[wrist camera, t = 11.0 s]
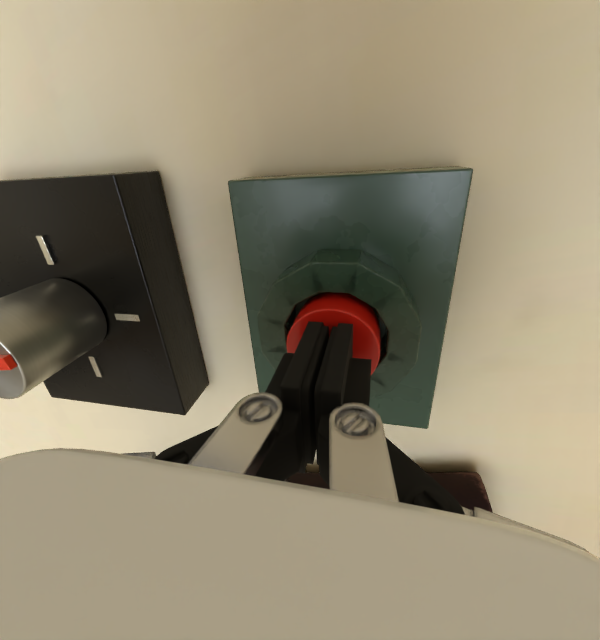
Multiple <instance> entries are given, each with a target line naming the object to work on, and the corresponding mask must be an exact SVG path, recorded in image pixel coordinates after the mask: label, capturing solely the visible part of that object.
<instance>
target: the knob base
mask: <svg viewBox="0 0 600 640" xmlns="http://www.w3.org/2000/svg"><path fill="white" fill-rule="evenodd" d="M53 278H60V279H66V280H69V281H72V282H74V283H76V284H78V285H79V286H81V287H82V288H84V289H85V290H86V291H87V292H88V293H89V294H90V295H91V296H92V297H93V298H94V299H95V300H96V301H97V303H98V304H99V306H100V307H101V309H102V311H103V313H104V315H105V318H106V323H107V333H106V336H105V338H104V339H103V341H102V342H101V343H100V344H98V345H97V346H95V347H94V348H92V349H91V350H89V351H88V352H86V353H85V354H83V355H82V356H80V357H79V358H77V359H76V360H74V361H73V362H71V363H70V364H68V365H67V366H65V367H64V368H62V369H61V370H59V371H58V372H56V373H55V374H53V375H52V376H50V377H49V378H47V379H46V380H44V381H43V382H44V384H45V386H46V388H47V389H48V391H49V393H50V395H51V397H55V398H62V399H70V400H77V401H84V402H92V403H99V404H106V405H114V406H121V407H128V408H136V409H143V410H151V411H158V412H165V413H173V414H180V415H186V414H187V412H188V411H189V410H190V408H191V407H192V406H193V404H194V403H195V402H196V400H197V399H198V398H199V396H200V395H201V394H202V392H203V391H204V390H205V388H206V387H207V386H208V384H209V382H208V378H207V374H206V370H205V365H204V361H203V357H202V353H201V349H200V344H199V340H198V336H197V332H196V327H195V323H194V319H193V315H192V311H191V306H190V302H189V298H188V294H187V289H186V285H185V281H184V277H183V273H182V268H181V264H180V260H179V256H178V251H177V247H176V243H175V239H174V234H173V230H172V226H171V222H170V218H169V213H168V209H167V205H166V201H165V196H164V192H163V188H162V184H161V180H160V175H159V172H158V171H145V172H129V173H113V174H97V175H81V176H64V177H48V178H32V179H16V180H0V298H1V297H4V296H7V295H9V294H12V293H14V292H17V291H20V290H22V289H25V288H28V287H30V286H33V285H36V284H38V283H41V282H44V281H46V280H49V279H53Z"/></svg>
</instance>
